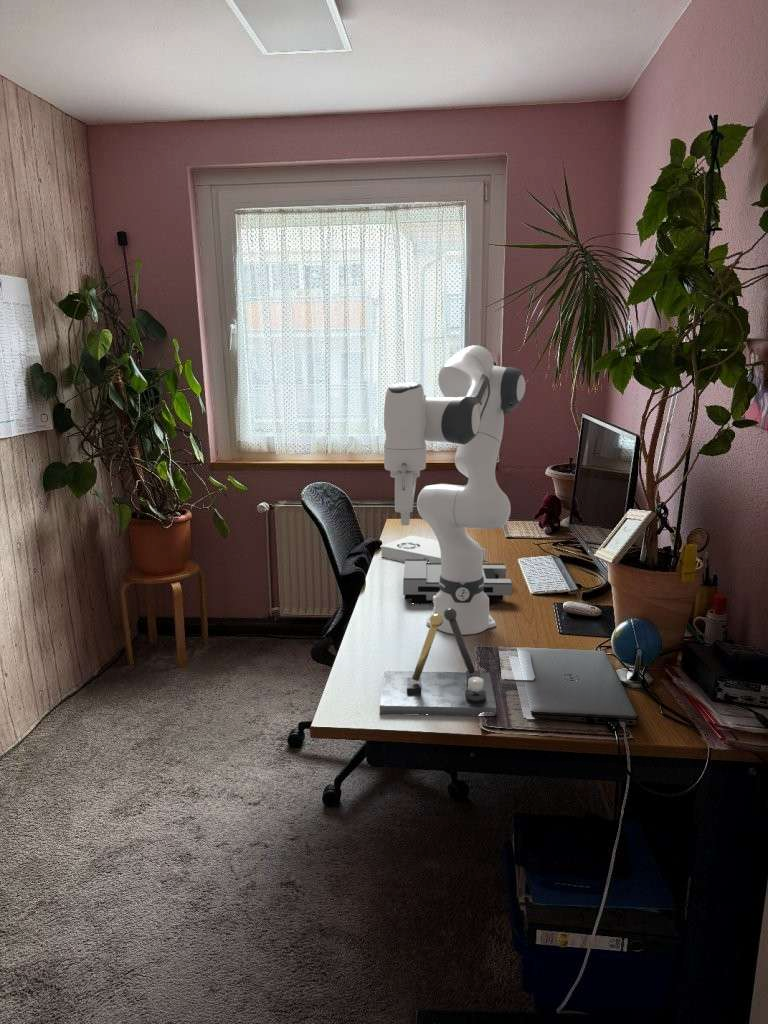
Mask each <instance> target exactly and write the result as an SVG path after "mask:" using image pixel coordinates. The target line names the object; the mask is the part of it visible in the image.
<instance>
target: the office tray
mask: <svg viewBox="0 0 768 1024" xmlns="http://www.w3.org/2000/svg"><path fill="white" fill-rule="evenodd" d="M440 575H441V563H426V560H424V559H405V562H404V567H403V579H402V580H403V581H402V583H403V584H402V585H403V586H402V589H403V592H402V594H403V595H404V600H410V604H411V603H414V604H413V605H434V603H433V596H436V594H437V593H438V592H439V591H440V588H439V586H440V584H439V579H440ZM482 575H483V577H484V590H483V592H484V593H485V594H486V595H487V597H489V606H495V601H504V596H513V583H512V580H511V579H510V578H507V567H506V565H505V563H489V562H488V563H483V564H482Z"/></svg>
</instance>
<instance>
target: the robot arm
mask: <svg viewBox="0 0 768 1024" xmlns="http://www.w3.org/2000/svg"><path fill="white" fill-rule="evenodd" d="M437 377H438V379H437V381H438V386H439V390H440V391H441V393H442V395H443V396H427V395H426V394H425V393H424V388H423V385H422V384H421V383H419V382H416V381H408V382H407V381H405V382H404V381H403V382H397V383H394V384H391V385H390V386H389V387H388V388H386V393H385V399H384V407H383V408H384V409H383V428H384V431H385V441H384V447H383V450H384V454H383V455H384V456H383V457H384V463H383V464H384V469H385V470H386V471H389V472H390V478H394V511H395V512H396V513H400V524H401V526H409V525H410V521H411V515H410V514H411V513H412V512H413V511H414V501H415V492H416V485H417V478H420V476H421V471H423V470H425V469H426V468H427V444H426V442H440V443H441V442H443V443H452V444H458V445H457V448H456V452H455V455H454V465H455V467H456V469H457V470H458V471H459V473H461V474H462V475H464V476H465V477H466V478H468V480H467V483H466V484H464V485H459V484H450V483H437V484H430V485H425V486H424V487H423V488H422V489H421V490H420V492H419V494H418V496H417V500H416V508H417V512H418V514H419V516H420V517H421V519H422V520H423V521H425V522H426V523H427V524H428V525H429V526H430V528H431V531H433V533H434V536H436V540H438V542H439V546H440V551H441V575H440V579H439V584H440V586H439V588H440V591H439V592H438V593H437V594H436V596H433V603H434V604H433V608H432V611H431V612H430V615H428V618H427V620H426V625H427V626H429V627H430V626H431V623H430V617H431V616H432V615H433V614H440V615H441V616H442V618H443V623H442V625H441V626H439V627H438V629H437V630H439V631H441V632H445V633H447V634H452V635H454V634H453V631H452V628H451V626H450V623H449V621H448V620H446V619H445V617H444V611H445V610H446V609H447V608H453V609H454V610H455V611H456V613H457V616H456V621H457V623H458V626H459V629H460V631H461V634H462V636H465V635H475V634H479V633H482V632H484V631H485V630H487V629H490V628H494V627H496V625H497V624H496V621H495V619H494V618H493V617H492V616H491V615H490V605H489V597H487V595H486V594H485V593H484V592H483V590H484V577H483V575H482V564H483V562H484V561H483V552H482V549H483V548H482V547H481V545H480V544H479V543H478V542H477V541H476V540H475V539H473V538H471V537H470V535H469V534H468V533H467V530H466V528H468V529H473V530H474V529H475V530H496V529H497V530H498V529H501V528H503V527H504V526H505V525H506V524H507V522H508V521H509V519H510V517H511V511H512V509H511V502H510V499H509V497H508V496H507V494H506V493H505V492H504V491H503V490H502V489H501V487H500V486H499V484H498V481H497V478H496V466H497V461H498V458H499V457H498V456H499V453H500V448H501V443H502V440H503V433H504V426H505V425H504V424H505V416H506V415H509V414H510V413H511V412H512V410H514V409H516V408H517V407H518V406H519V405H520V403H522V401H523V398H524V395H525V392H526V378H525V375H524V373H523V372H522V370H521V369H519V368H516V367H513V366H507V367H505V366H499V365H494V359H493V355H492V354H491V352H490V351H489V350H488V349H487V348H486V347H483V345H482V346H481V345H476V344H475V345H474V344H473V345H469V346H466V347H464V348H462V349H460V350H458V351H457V352H455V353H454V354H453V355H451V356H450V358H448V359H447V360H446V361H445V362H444V363H443V365H442V366H441V368H440V370H439V372H438V375H437ZM481 548H482V549H481Z"/></svg>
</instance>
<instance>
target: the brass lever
mask: <svg viewBox="0 0 768 1024" xmlns="http://www.w3.org/2000/svg"><path fill="white" fill-rule="evenodd" d="M430 623H431V626H429V629H428V632H427V634H426V638H425V640H424V643H423V645H422V649H421V651H420V654H419V658H418V660H417V663H416V666H415V668H414V671H413V672H414V674H413V677H412V679H413V680H415V681H419V679H420V676H421V674H422V672H424V671H423V670H424V668H425V665H426V662H427V659H428V656H429V653H430V651H431V648H432V645H433V643H434V640H435V637H436V635H437V630H439V629H438V627H439V626H441V625H442V623H443V618H442V616H441V615H440V614H433V615H432V616H431V617H430Z"/></svg>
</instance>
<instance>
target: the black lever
mask: <svg viewBox="0 0 768 1024" xmlns="http://www.w3.org/2000/svg"><path fill="white" fill-rule="evenodd" d="M456 616H457V613H456V611H455V610H454V609H453V608H447V609H446V610H445V611H444V617H445V619H446V620H448V621H449V623H450V626H451V628H452V631H453V634H452V635H453V636H454V638H455V641H456V645H457V646H458V649H459V652H460V654H461V657H462V659H463V660H462V661H463V662H464V664H465V668H466V671H468V673H469V674H472V673H474V672H475V671H476V669H475V667H474V663H473V661H472V658H471V656H470V653H469V650H468V647H467V645H466V643H465V640H464V637H463V635H462V634H461V631H460V629H459V626H458V623H457V621H456Z"/></svg>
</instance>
